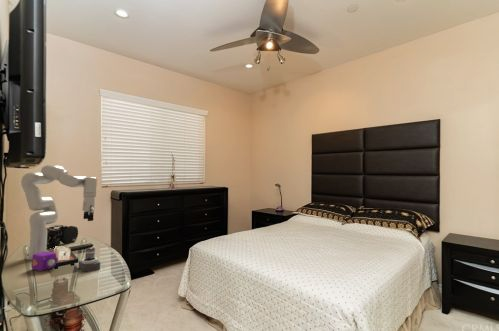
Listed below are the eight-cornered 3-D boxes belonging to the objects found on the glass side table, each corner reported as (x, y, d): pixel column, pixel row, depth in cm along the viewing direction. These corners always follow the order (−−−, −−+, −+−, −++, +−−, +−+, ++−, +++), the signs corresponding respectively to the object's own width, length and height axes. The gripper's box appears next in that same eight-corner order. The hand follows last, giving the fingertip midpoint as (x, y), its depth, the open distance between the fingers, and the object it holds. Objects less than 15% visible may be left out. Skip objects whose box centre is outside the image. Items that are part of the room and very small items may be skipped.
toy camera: (46, 273, 158) (47, 256, 158) (27, 270, 160) (28, 254, 161) (62, 267, 168) (63, 251, 169) (44, 264, 171) (45, 249, 171)
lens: (83, 263, 165) (84, 249, 166) (86, 260, 170) (87, 247, 171) (93, 262, 167) (94, 249, 167) (95, 260, 172) (96, 247, 172)
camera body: (78, 267, 169) (78, 258, 169) (94, 264, 176) (94, 255, 176) (83, 272, 161) (84, 262, 161) (100, 268, 167) (100, 259, 168)
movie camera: (51, 251, 198) (52, 227, 200) (32, 249, 202) (34, 226, 204) (85, 242, 228) (86, 222, 230) (69, 242, 232) (70, 221, 234)
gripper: (79, 194, 185) (78, 218, 184) (87, 195, 173) (85, 222, 173) (91, 193, 191) (90, 217, 190) (99, 195, 179) (98, 221, 178)
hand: (88, 219), depth 181 cm, fingers open, 9 cm apart
